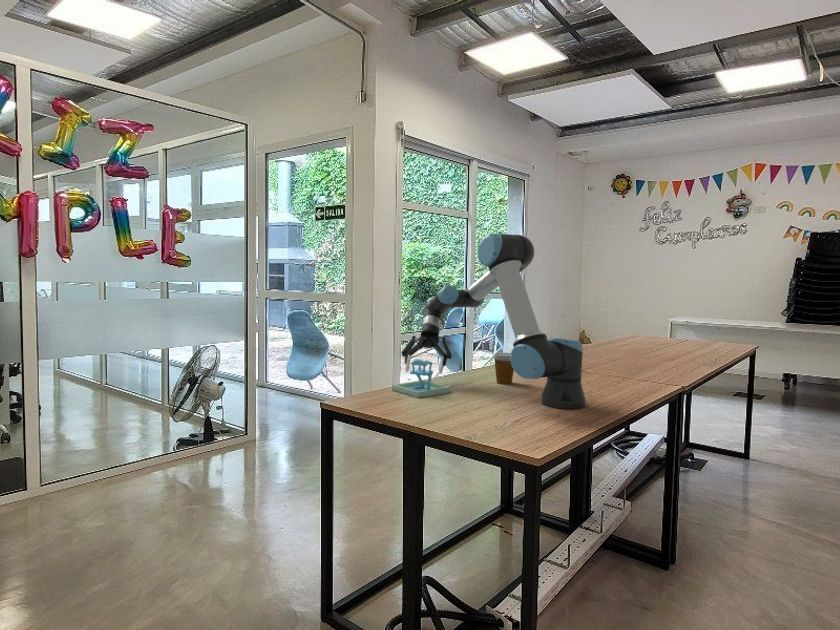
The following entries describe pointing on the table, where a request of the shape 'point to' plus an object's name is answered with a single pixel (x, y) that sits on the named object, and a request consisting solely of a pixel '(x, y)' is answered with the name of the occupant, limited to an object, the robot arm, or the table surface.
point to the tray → (433, 390)
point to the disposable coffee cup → (503, 368)
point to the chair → (421, 372)
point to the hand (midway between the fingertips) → (423, 370)
